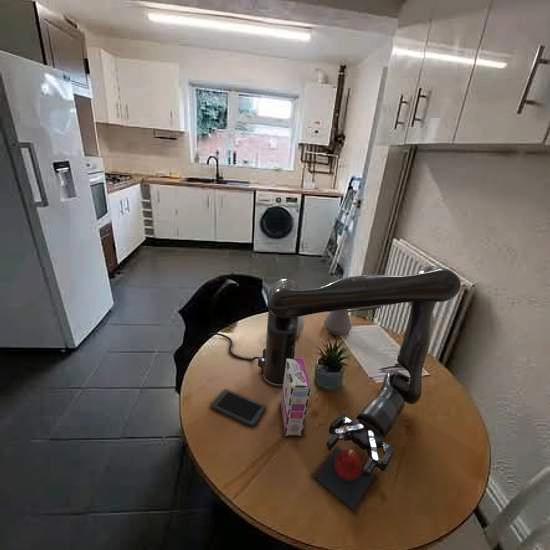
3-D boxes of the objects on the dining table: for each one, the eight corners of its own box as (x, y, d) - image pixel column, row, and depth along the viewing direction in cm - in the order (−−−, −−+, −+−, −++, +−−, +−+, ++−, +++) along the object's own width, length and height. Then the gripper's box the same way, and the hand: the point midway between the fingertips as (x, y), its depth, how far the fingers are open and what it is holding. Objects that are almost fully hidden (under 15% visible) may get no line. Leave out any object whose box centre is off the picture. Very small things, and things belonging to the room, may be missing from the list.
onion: (358, 491, 68) (365, 466, 65) (332, 485, 69) (337, 460, 66) (357, 467, 73) (363, 443, 70) (332, 461, 74) (338, 437, 71)
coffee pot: (320, 333, 126) (325, 301, 121) (325, 320, 136) (330, 290, 131) (374, 347, 121) (382, 313, 115) (375, 332, 131) (382, 300, 125)
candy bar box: (303, 436, 80) (311, 387, 74) (284, 436, 80) (290, 387, 74) (297, 403, 91) (303, 357, 84) (280, 403, 90) (285, 357, 84)
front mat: (313, 477, 71) (314, 476, 70) (336, 449, 78) (337, 448, 78) (353, 510, 65) (353, 509, 64) (373, 477, 72) (374, 476, 72)
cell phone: (224, 390, 93) (224, 388, 93) (265, 408, 88) (266, 406, 88) (210, 407, 87) (210, 405, 87) (253, 427, 82) (253, 425, 81)
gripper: (354, 391, 81) (320, 427, 70) (409, 424, 73) (379, 471, 61) (350, 413, 84) (315, 451, 73) (401, 446, 76) (372, 495, 64)
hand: (345, 460), depth 67 cm, fingers open, 8 cm apart
